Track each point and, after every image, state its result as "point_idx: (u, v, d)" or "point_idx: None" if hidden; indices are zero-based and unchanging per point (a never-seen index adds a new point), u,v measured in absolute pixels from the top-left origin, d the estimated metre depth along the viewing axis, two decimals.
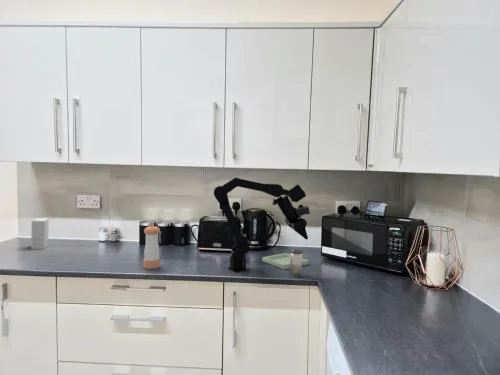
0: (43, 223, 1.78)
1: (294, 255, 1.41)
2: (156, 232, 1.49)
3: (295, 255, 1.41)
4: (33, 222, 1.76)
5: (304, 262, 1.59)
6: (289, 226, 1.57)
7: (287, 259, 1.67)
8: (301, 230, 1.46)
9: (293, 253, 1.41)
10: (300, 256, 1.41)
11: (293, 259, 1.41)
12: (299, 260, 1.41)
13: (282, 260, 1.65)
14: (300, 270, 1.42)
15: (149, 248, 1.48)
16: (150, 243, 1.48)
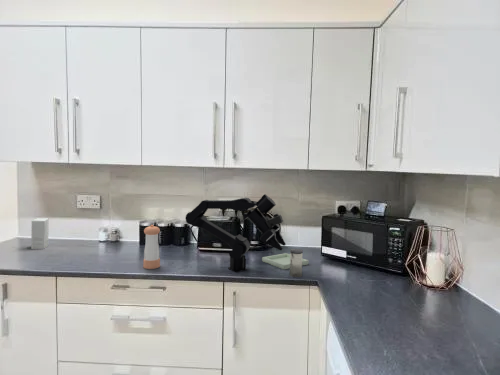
0: (43, 223, 1.78)
1: (294, 255, 1.41)
2: (156, 232, 1.49)
3: (295, 255, 1.41)
4: (33, 222, 1.76)
5: (304, 262, 1.59)
6: None
7: (287, 259, 1.67)
8: (272, 241, 1.40)
9: (293, 253, 1.41)
10: (300, 256, 1.41)
11: (293, 259, 1.41)
12: (299, 260, 1.41)
13: (282, 260, 1.65)
14: (300, 270, 1.42)
15: (149, 248, 1.48)
16: (150, 243, 1.48)
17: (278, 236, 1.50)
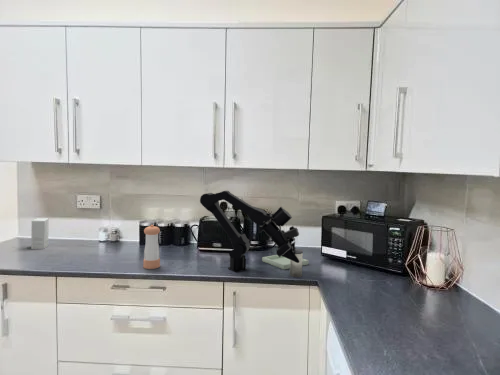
0: (43, 223, 1.78)
1: None
2: (156, 232, 1.49)
3: None
4: (33, 222, 1.76)
5: (304, 262, 1.59)
6: None
7: (287, 259, 1.67)
8: (289, 254, 1.40)
9: None
10: (300, 256, 1.41)
11: None
12: (299, 260, 1.41)
13: (282, 260, 1.65)
14: (300, 270, 1.42)
15: (149, 248, 1.48)
16: (150, 243, 1.48)
17: None
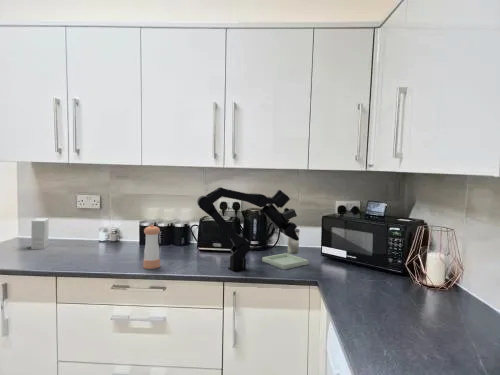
0: (43, 223, 1.78)
1: None
2: (156, 232, 1.49)
3: None
4: (33, 222, 1.76)
5: (304, 262, 1.59)
6: None
7: (287, 259, 1.67)
8: (291, 233, 1.51)
9: None
10: (298, 234, 1.54)
11: None
12: None
13: (282, 260, 1.65)
14: (298, 247, 1.54)
15: (149, 248, 1.48)
16: (150, 243, 1.48)
17: None
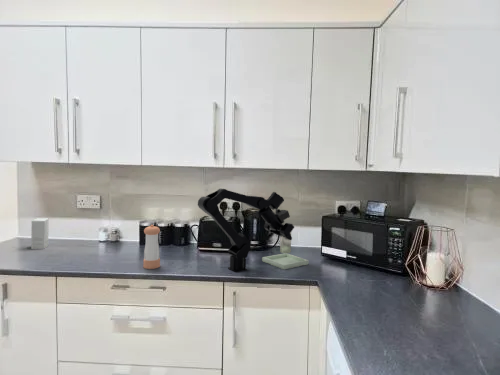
0: (43, 223, 1.78)
1: None
2: (156, 232, 1.49)
3: None
4: (33, 222, 1.76)
5: (304, 262, 1.59)
6: (273, 232, 1.62)
7: (287, 259, 1.67)
8: None
9: None
10: None
11: None
12: None
13: (282, 260, 1.65)
14: (290, 246, 1.62)
15: (149, 248, 1.48)
16: (150, 243, 1.48)
17: (279, 230, 1.64)
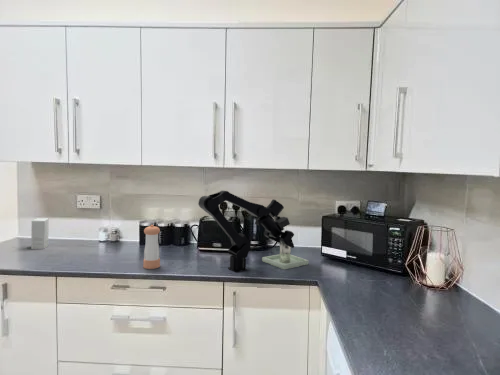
0: (43, 223, 1.78)
1: None
2: (156, 232, 1.49)
3: None
4: (33, 222, 1.76)
5: (304, 262, 1.59)
6: (271, 239, 1.64)
7: None
8: (288, 241, 1.56)
9: None
10: None
11: (286, 247, 1.60)
12: (290, 247, 1.61)
13: None
14: (289, 256, 1.62)
15: (149, 248, 1.48)
16: (150, 243, 1.48)
17: (277, 236, 1.66)
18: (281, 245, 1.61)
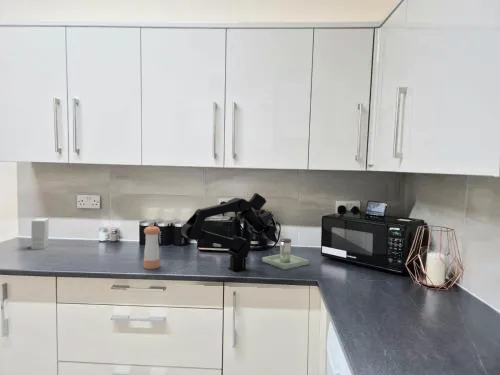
0: (43, 223, 1.78)
1: (287, 244, 1.60)
2: (156, 232, 1.49)
3: (288, 244, 1.60)
4: (33, 222, 1.76)
5: (304, 262, 1.59)
6: None
7: None
8: (271, 236, 1.51)
9: (286, 242, 1.60)
10: (290, 244, 1.62)
11: (286, 247, 1.60)
12: (290, 247, 1.61)
13: None
14: (290, 256, 1.62)
15: (149, 248, 1.48)
16: (150, 243, 1.48)
17: (261, 231, 1.61)
18: (281, 245, 1.61)
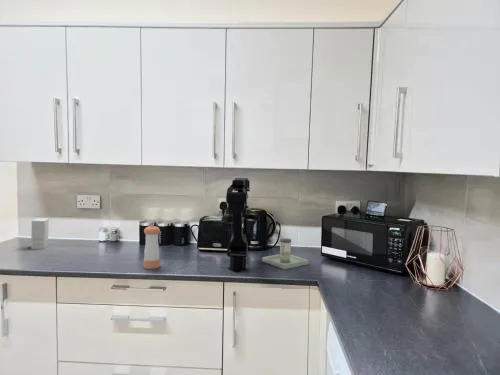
0: (43, 223, 1.78)
1: (287, 244, 1.60)
2: (156, 232, 1.49)
3: (288, 244, 1.60)
4: (33, 222, 1.76)
5: (304, 262, 1.59)
6: None
7: None
8: None
9: (286, 242, 1.60)
10: (290, 244, 1.62)
11: (286, 247, 1.60)
12: (290, 247, 1.61)
13: None
14: (290, 256, 1.62)
15: (149, 248, 1.48)
16: (150, 243, 1.48)
17: None
18: (281, 245, 1.61)
